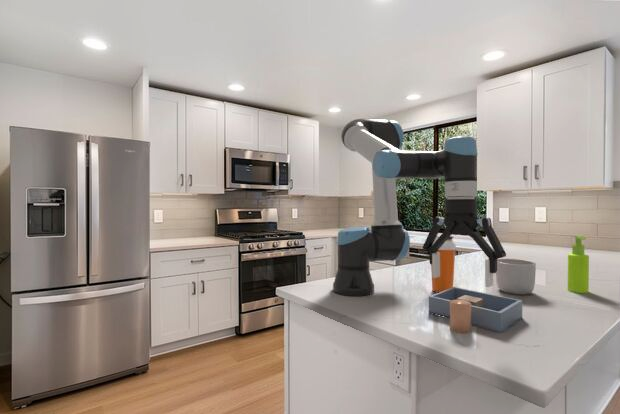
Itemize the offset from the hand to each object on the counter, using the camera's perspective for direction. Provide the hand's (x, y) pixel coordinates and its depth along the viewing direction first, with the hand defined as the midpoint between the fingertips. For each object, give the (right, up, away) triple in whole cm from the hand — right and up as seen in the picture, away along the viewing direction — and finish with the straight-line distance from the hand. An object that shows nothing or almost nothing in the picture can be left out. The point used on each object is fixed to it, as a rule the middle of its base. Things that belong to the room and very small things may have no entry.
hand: (461, 281), depth 85 cm
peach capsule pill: (0, -13, +1) cm, 13 cm away
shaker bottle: (+10, -12, +37) cm, 40 cm away
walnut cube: (+6, -12, +8) cm, 16 cm away
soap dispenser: (+58, -12, +34) cm, 68 cm away
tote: (+9, -12, +10) cm, 18 cm away
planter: (+35, -12, +35) cm, 51 cm away
